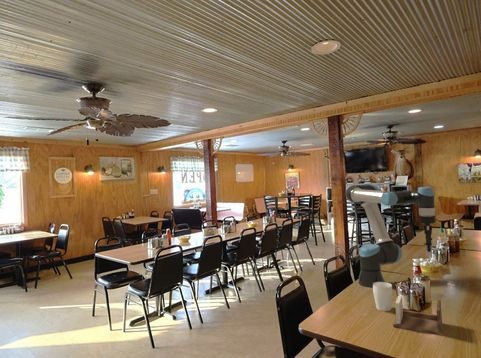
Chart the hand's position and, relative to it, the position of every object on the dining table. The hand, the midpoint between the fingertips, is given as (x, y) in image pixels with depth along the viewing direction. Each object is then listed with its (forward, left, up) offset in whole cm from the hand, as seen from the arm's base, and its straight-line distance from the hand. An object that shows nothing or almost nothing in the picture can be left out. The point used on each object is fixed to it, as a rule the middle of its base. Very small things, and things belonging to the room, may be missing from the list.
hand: (429, 254), depth 176 cm
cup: (-20, -28, -23) cm, 41 cm away
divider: (-11, -42, -21) cm, 48 cm away
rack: (-4, -41, -22) cm, 47 cm away
